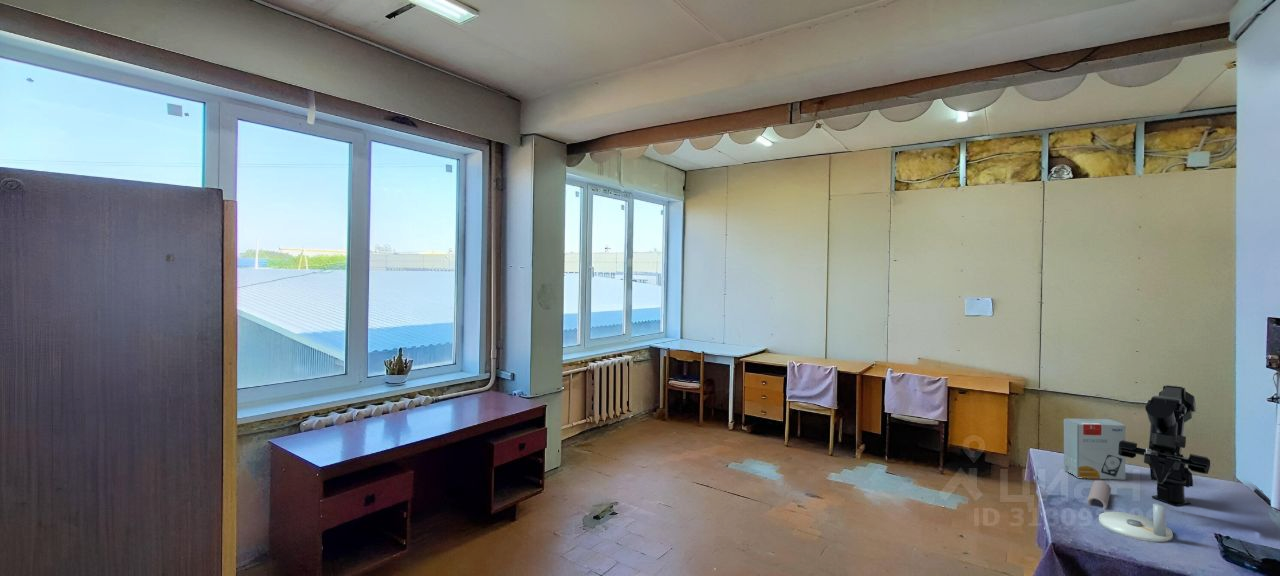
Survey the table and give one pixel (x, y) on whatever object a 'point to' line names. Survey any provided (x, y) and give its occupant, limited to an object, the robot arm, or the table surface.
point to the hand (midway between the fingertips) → (1160, 483)
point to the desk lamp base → (1139, 525)
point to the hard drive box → (1094, 448)
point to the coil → (1099, 493)
